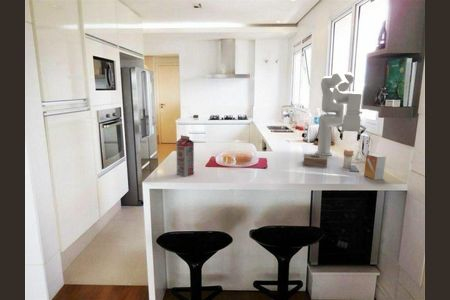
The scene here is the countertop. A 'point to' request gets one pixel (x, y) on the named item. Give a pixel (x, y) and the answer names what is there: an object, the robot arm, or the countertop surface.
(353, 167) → the mat
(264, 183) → the countertop surface
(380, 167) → the small box
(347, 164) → the plug
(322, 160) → the socket block
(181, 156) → the juice carton
